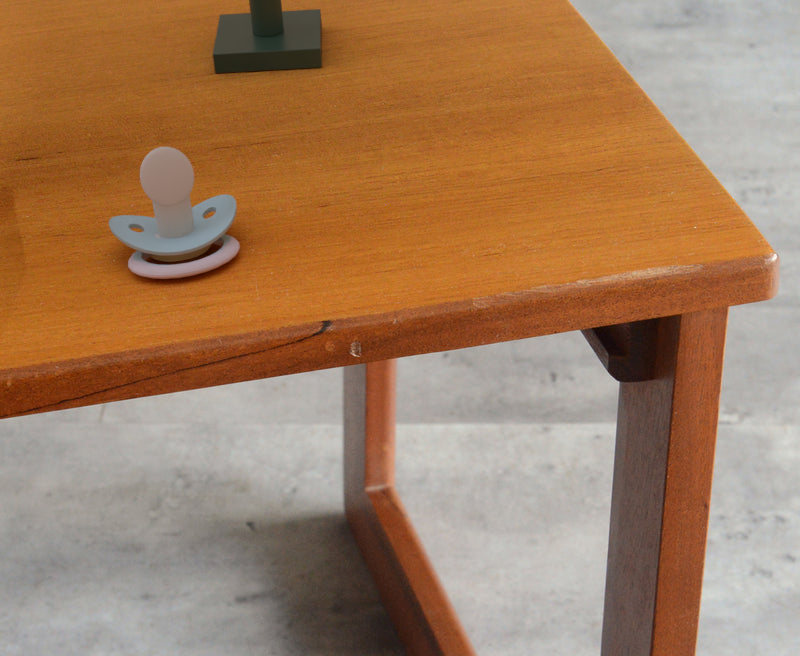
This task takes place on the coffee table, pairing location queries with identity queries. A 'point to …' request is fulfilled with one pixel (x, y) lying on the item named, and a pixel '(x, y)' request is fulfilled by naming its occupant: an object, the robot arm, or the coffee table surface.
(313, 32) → the stand
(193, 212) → the pacifier
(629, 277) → the coffee table surface
